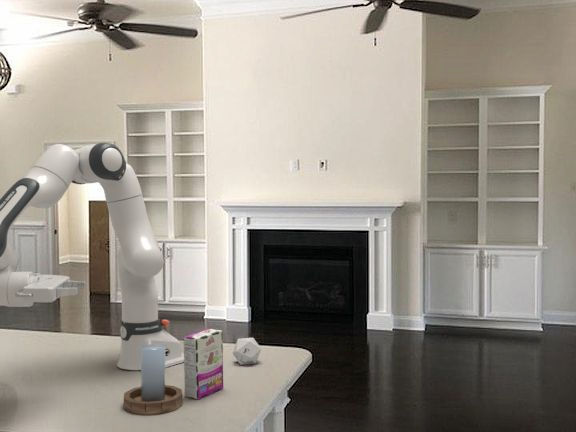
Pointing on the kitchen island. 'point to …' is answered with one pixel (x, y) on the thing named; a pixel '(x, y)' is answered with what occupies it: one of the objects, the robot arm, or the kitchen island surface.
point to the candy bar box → (203, 363)
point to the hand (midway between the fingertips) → (81, 288)
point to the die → (246, 351)
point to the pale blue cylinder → (152, 373)
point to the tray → (152, 402)
